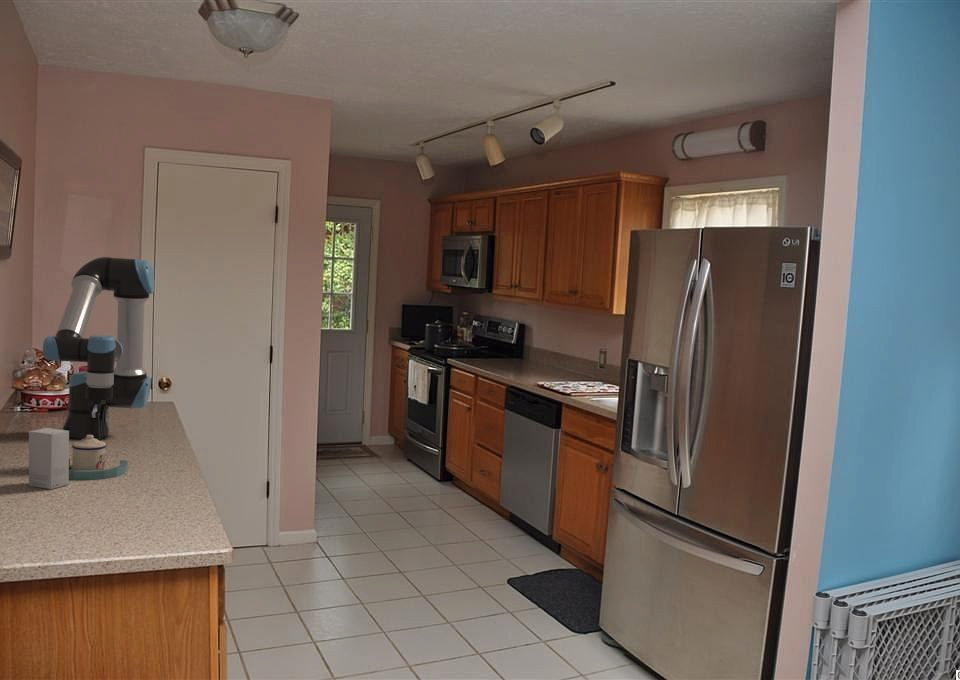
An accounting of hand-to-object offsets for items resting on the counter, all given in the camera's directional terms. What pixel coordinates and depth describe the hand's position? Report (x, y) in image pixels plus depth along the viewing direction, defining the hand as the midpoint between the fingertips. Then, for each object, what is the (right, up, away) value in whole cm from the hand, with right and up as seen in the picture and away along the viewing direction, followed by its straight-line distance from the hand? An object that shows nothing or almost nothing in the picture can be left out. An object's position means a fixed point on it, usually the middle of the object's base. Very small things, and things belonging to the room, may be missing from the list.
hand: (96, 461), depth 244 cm
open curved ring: (+2, -2, -8) cm, 9 cm away
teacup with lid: (+2, -2, -8) cm, 8 cm away
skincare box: (-2, -3, -24) cm, 25 cm away
